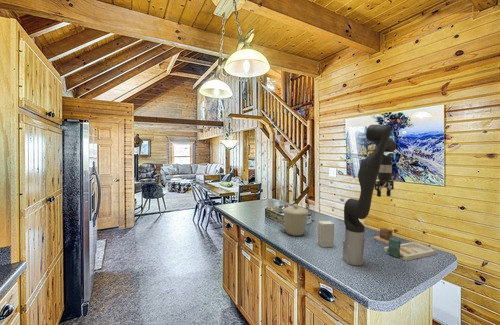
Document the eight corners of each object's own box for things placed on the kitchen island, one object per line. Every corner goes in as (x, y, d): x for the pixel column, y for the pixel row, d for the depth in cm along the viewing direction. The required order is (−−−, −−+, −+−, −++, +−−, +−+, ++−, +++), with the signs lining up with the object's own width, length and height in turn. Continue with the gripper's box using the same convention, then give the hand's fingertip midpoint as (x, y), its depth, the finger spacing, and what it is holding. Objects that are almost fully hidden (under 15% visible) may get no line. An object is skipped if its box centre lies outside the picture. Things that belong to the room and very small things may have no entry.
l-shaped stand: (400, 259, 120) (401, 242, 120) (385, 251, 129) (385, 236, 129) (419, 254, 126) (420, 239, 126) (404, 248, 135) (404, 233, 134)
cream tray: (405, 261, 119) (406, 256, 119) (384, 251, 131) (384, 247, 131) (436, 254, 128) (436, 250, 128) (413, 245, 140) (413, 241, 140)
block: (386, 240, 144) (386, 231, 144) (379, 237, 149) (380, 229, 149) (391, 239, 146) (392, 230, 146) (384, 236, 151) (385, 228, 151)
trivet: (387, 244, 141) (387, 242, 141) (373, 238, 151) (373, 236, 151) (398, 242, 145) (398, 240, 145) (384, 236, 154) (384, 235, 154)
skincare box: (330, 243, 141) (331, 220, 140) (334, 247, 135) (335, 223, 134) (317, 243, 140) (318, 220, 140) (320, 247, 134) (321, 223, 134)
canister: (310, 238, 148) (311, 207, 147) (283, 237, 149) (284, 206, 148) (304, 229, 166) (305, 201, 165) (280, 228, 167) (281, 201, 166)
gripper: (382, 172, 138) (380, 198, 138) (398, 172, 143) (396, 197, 143) (371, 171, 145) (370, 195, 146) (387, 171, 150) (386, 194, 150)
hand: (383, 196), depth 144 cm, fingers open, 8 cm apart
